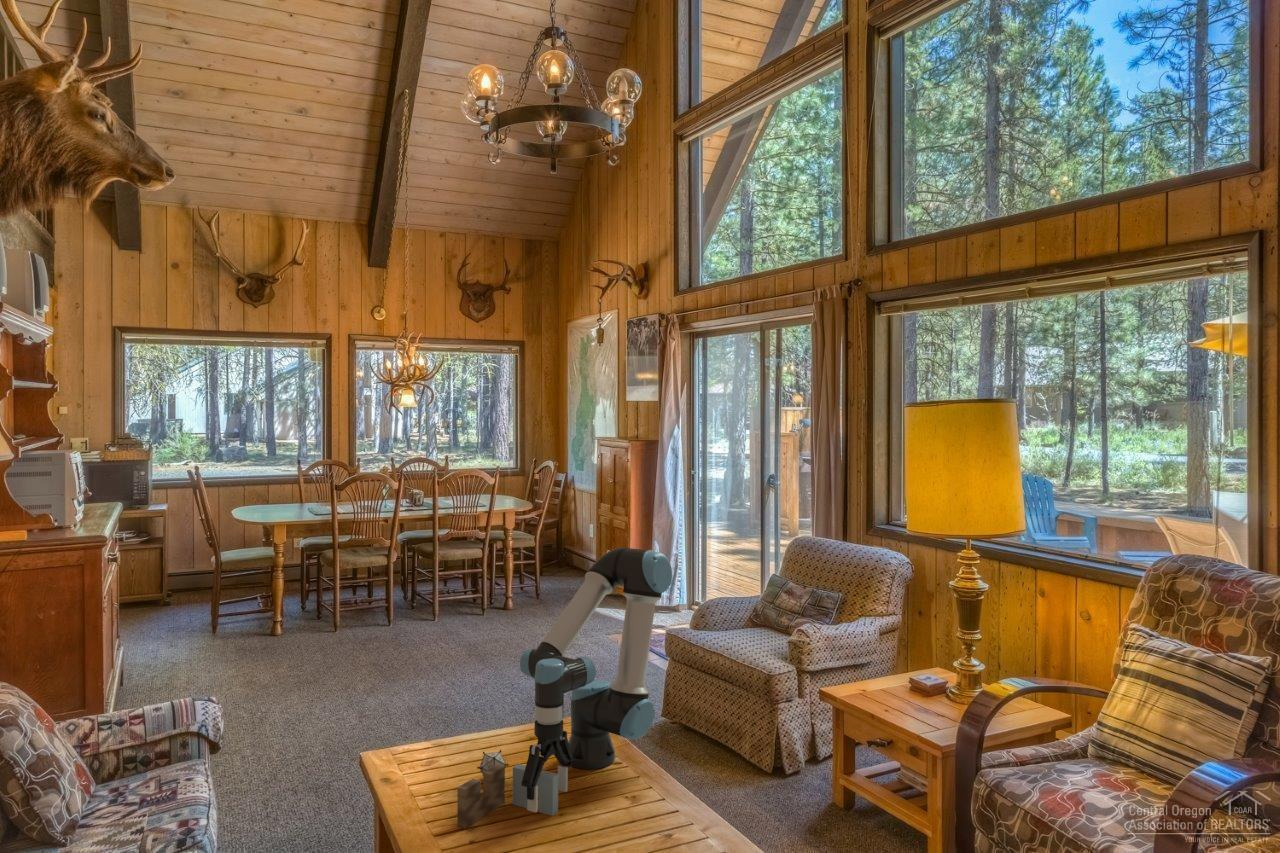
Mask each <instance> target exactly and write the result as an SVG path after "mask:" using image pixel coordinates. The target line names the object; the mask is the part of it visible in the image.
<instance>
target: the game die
mask: <svg viewBox="0 0 1280 853" xmlns="http://www.w3.org/2000/svg"><path fill="white" fill-rule="evenodd" d="M501 752H502V749H500V750H499V751H498V752H489V753H486V752H485V751H482V754H483V756H482V759H481V762H480V763H479V766H477V767H476V769H477V770H480V772H481V774H482V776H483V772H485V771H487V770H489V769H490V768H492V767H494V766H496V765H497V764H498V765H502V766H505V768H506V767H508V766H510V764H509V763H506V760H505V759H504V757H503V755H502V753H501Z"/></svg>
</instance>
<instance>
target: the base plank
mask: <svg viewBox="0 0 1280 853" xmlns="http://www.w3.org/2000/svg"><path fill="white" fill-rule="evenodd" d="M505 772H506V767H505V766H502V765H498V764H497V765H496V766H494V767H492V768H490V769H489V770H487V771H485V772H483V775H482V778H483V780H482V781H483V782H482V783H483V784H482V785H483V789H482V792H481V780H480V779H476V778H471V779H470V780H468V781H466V782H464V783H462V784H461V785H459V786H458V787H457V804H456V805H457V806H456V807H457V810H456V812H457V816H456V817H457V819H456V821H457V822H456V823H457V825H456V827H457V828H461V829H463V830H464V829H467V828H469V827H470V826H472V825H473V824H475V823H476V822H478V821H479V820H481V819H483V818H484V817H486V816H488V815H489V814H491V813H492V812H493V811H495V810H497V809H498V808H499V807H501V806H504V804H505V802H506V801H505V800H506V799H505V798H506V797H505V794H506V793H505V792H506V786H505V785H506V784H505V783H506V778H505V777H506V773H505Z"/></svg>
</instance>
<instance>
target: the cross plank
mask: <svg viewBox="0 0 1280 853" xmlns="http://www.w3.org/2000/svg"><path fill="white" fill-rule="evenodd" d="M525 768H526V764H521V763H517V764H516V765H514V766H512V805H513V806H518V807H520V808H525V809H527V787H525V786H522V785H521V783H522V779H523V775H524V772H525ZM536 786H538V813H542V814H545V815H548V816H551V817H554V816H555V815H556V814H558V812H559V790H558V773H555V772H550V771H546V770H543V769H542V771H541V773H540V776H539V779H538V781H537V784H536Z"/></svg>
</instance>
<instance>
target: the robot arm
mask: <svg viewBox="0 0 1280 853" xmlns="http://www.w3.org/2000/svg"><path fill="white" fill-rule="evenodd" d="M584 578H585V579H584V581H583V583H582V584H581V586H580V587H579V588H578V590H577V591H576V593H575V594H574V596H573V597H572V598H571V600H570V601H569V602H568V604H567V606H566V607H565V608H564V610H563V611H562V612H561V614H560V615H559V617H558V618H557V620H555V622H554V624H553V625H552V626H551V628H550V629H549V631H548V632H547V634H546V635H545V637H543V639H542V641H541V642H540V644H538V646H537V647H536V648H528V649H526V650H525V651H524V652H523V653H522V655H521V656H520V660H519V667H520V671H521V672H522V674H524V675H525V676H526V677H529V678H532V679H534V729H533V731H534V736H535V737H536V739H537V743H536V744H535V745H533V744H530V745H529V751H528V757H527V760H526V764H525V766H526V768H525V772H524V775H523V779H522V783H521V785H522V786H525V787H527V808H526V810H527V811H529V812H533V813H537V812H539V792H538V786H536V784H537V781H538V779H539V776H540V773H541V771H542V770H543V768H544V765H545V763H547V762H548V760H549V758H550V757H552V756H554V757H555V758H556V761H558V762H559V763H558V765H557V774H558V791H560V792H565V793H567V792H568V782H569V781H568V780H569V779H568V776H569V767H570V768H571V767H573V768H577V769H581V770H596V769H597V770H599V769H601V768H605V767H608V766H610V765H612V764H613V763H614V762H615V760H616V751H615V747H614V744H613V741H612V737H611V734H613V735H616V736H619V737H622V738H624V739H630V740H639V739H641V738H643V737H644V736H645V735H646V734H647V733H648V732H649V730H651V728H652V725H653V723H654V719H655V715H656V707H655V704H654V702H652V701H651V700H650V699H649V697H650V696H649V695H650V691H649V689H648V688H647V686H646V679H647V672H648V671H647V670H648V663H649V658H650V657H649V656H650V647H651V639H652V633H653V632H652V631H653V624H654V617H655V610H656V603H657V602H658V601H660V600H661V599H662V596H663V595H662V594H663V593H665V592H666V591H668V589H670V588H669V587H670V586H671V584H672V580H673V568H672V564H671V562H670V561H669V559H668V557H667V556H666V555H665V554H664V553H661V552H660V551H659V552H658V551H654V550H652V549H651V550H647V549H640V548H632V547H627V546H626V547H625V546H624V547H623V546H622V547H616V548H613V549H611V550H609V551H607V552H606V553H605V554H603V555H602V556H600V557H599V558H598V559H597V560H596V561H595V562H594V563H593V564H592V565H591V566H590V567H589V569H588V570H587V571H586V573H585V575H584ZM620 586H622V587H623V588H622V594H623V596H624V597H625V598H626V604H625V613H624V620H623V627H622V635H621V641H620V642H621V643H620V651H619V657H618V663H617V664H618V665H617V672H616V680H615V682H613V683H612V684H611V683H610V682H609V681H608V680H602V679H596V676H597V675H596V674H597V669H596V668H597V667H596V665H595V663H594V661H593V660H592V659H591V658H590V657H587V656H581V657H580V656H578V657H576V658H571V657H566V656H564V655H566V653H567V651H568V650H569V649H570V647H571V646H572V644H573V643H574V641H575V640H576V638H577V637H578V636H579V634H580V633H581V631H582V630H583V628H584V627H585V626H586V624H587V623H588V621H589V620H590V618H591V616H592V615H593V614H594V612H595V611H596V610H597V608H598V607H599V605H600V604H601V602H602V601H603V599H604V598H605V596H607V595H610V594H612V592H613V591H614V589H615V588H617V587H620ZM610 684H611V685H610ZM568 692H571V698H570V730H571V731H570V736H569V740H568V731H566V730H564V720H563V719H564V718H565V715H564V713H565V711H564V708H565V707H564V697H565V695H564V694H567V693H568Z"/></svg>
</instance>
